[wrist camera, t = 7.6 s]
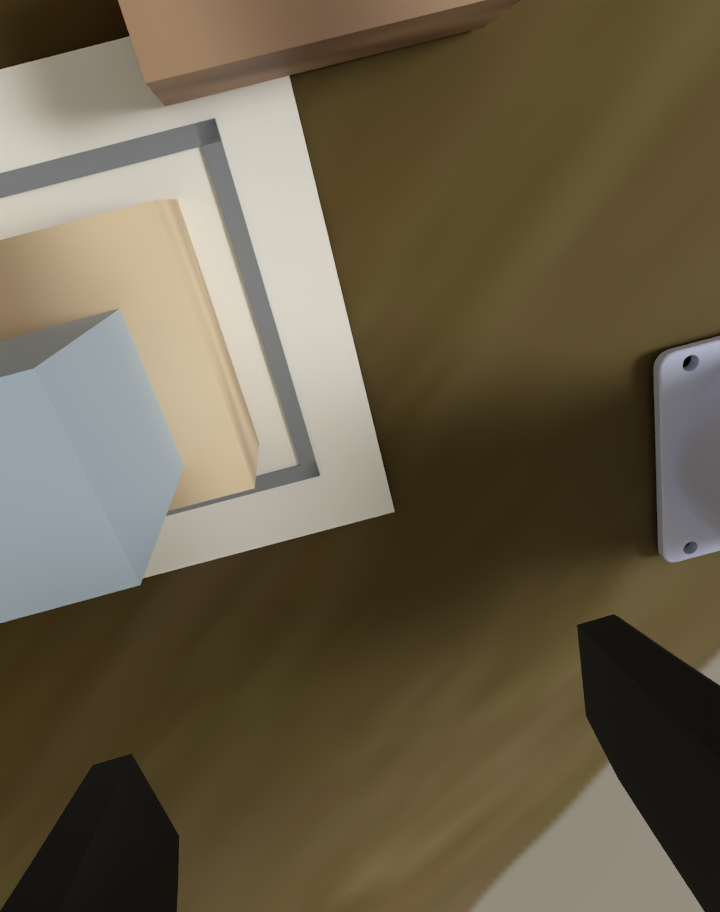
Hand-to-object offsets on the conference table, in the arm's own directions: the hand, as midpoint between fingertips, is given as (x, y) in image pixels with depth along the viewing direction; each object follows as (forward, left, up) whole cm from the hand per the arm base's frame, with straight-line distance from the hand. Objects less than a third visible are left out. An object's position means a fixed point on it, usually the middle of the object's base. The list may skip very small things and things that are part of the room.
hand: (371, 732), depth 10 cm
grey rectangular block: (+5, -4, -7) cm, 10 cm away
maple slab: (+5, -5, -10) cm, 12 cm away
